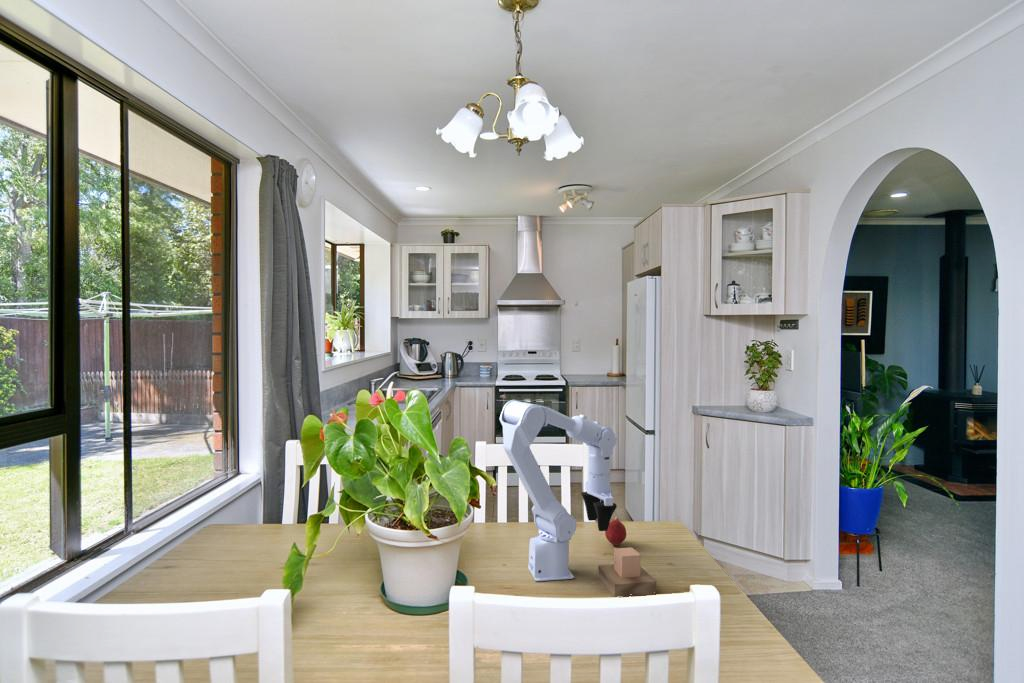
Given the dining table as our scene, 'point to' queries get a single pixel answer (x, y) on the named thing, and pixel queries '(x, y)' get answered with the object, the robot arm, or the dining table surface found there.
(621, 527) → the onion
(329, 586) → the dining table surface
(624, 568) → the terracotta cube
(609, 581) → the walnut base
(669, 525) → the dining table surface
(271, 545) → the dining table surface
